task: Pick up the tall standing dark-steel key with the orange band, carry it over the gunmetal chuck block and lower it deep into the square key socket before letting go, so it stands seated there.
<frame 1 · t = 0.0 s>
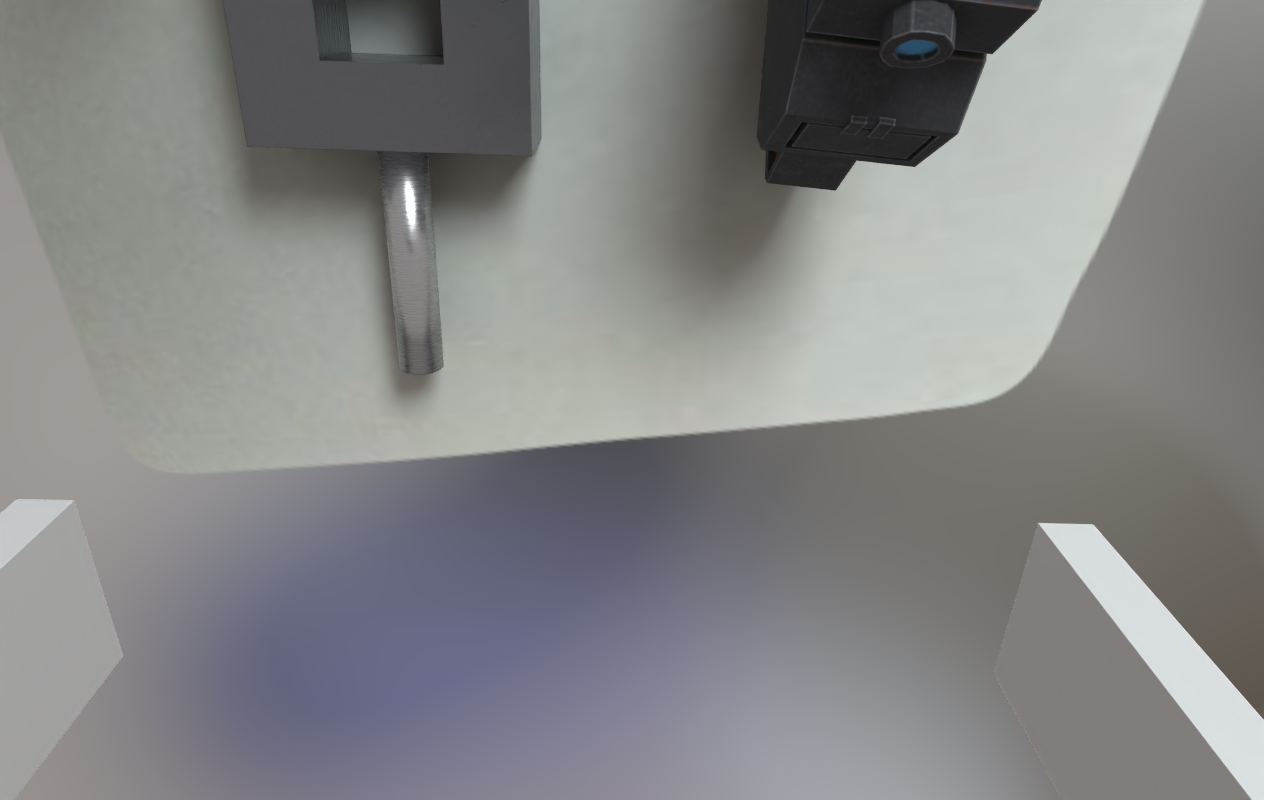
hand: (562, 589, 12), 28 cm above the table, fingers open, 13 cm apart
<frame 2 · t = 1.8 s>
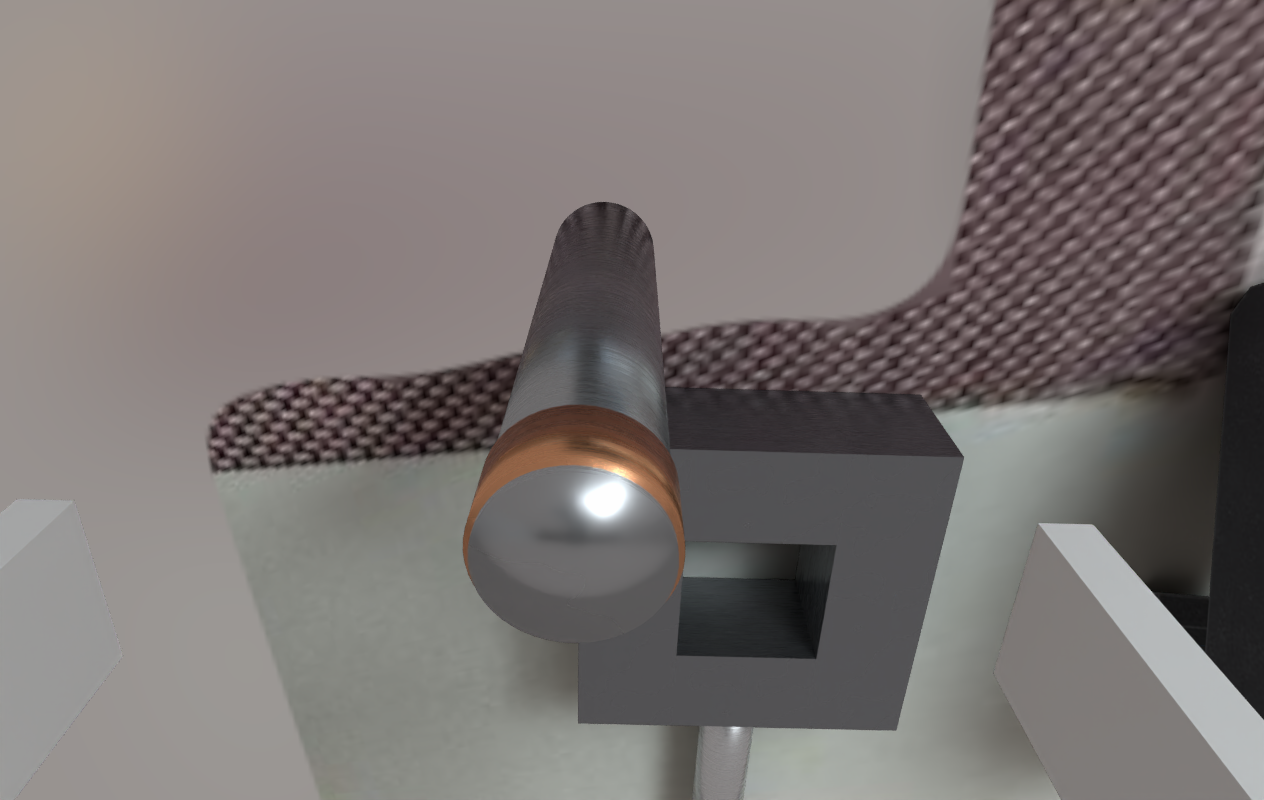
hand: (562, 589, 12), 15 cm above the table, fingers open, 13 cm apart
key: (604, 251, 25), on the table
chuck: (738, 527, 30), on the table
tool: (1244, 440, 28), on the table
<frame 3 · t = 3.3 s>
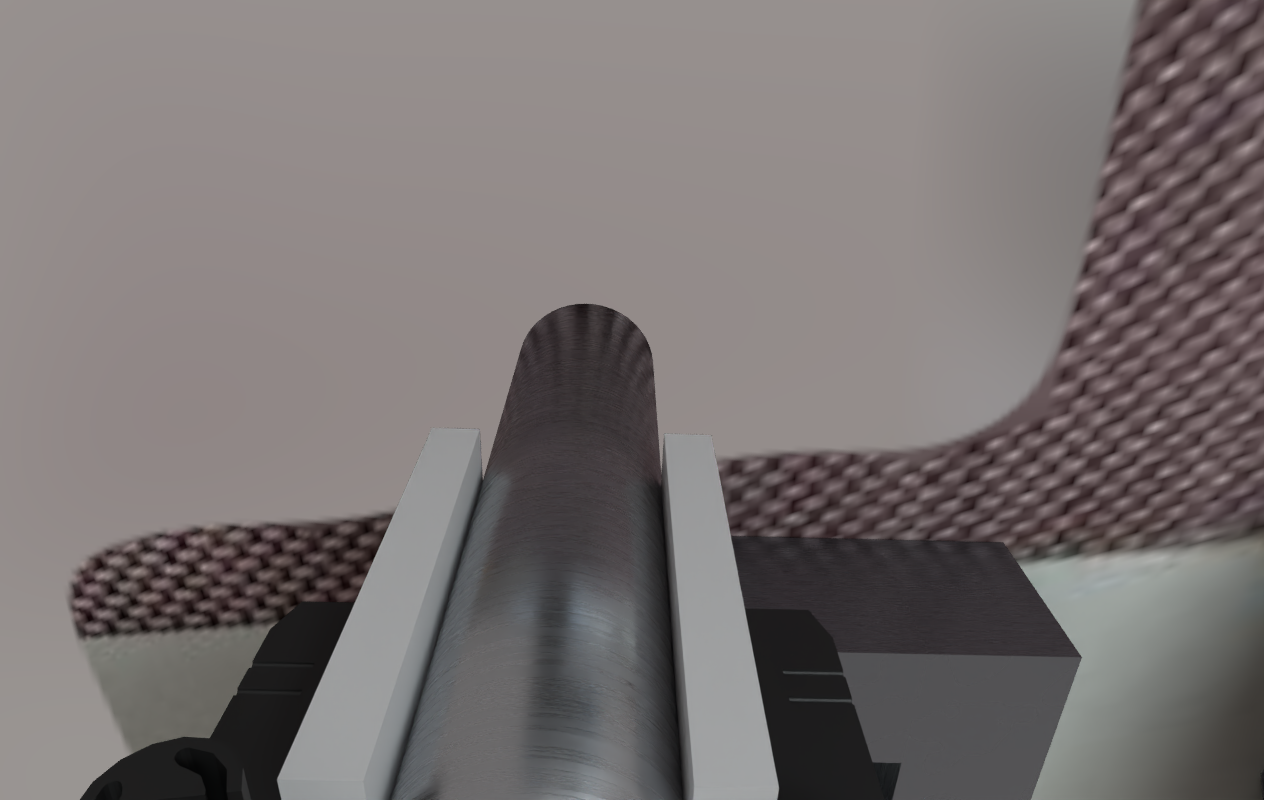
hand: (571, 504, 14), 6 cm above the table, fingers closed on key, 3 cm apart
key: (586, 367, 19), on the table, touching gripper
chuck: (762, 699, 23), on the table
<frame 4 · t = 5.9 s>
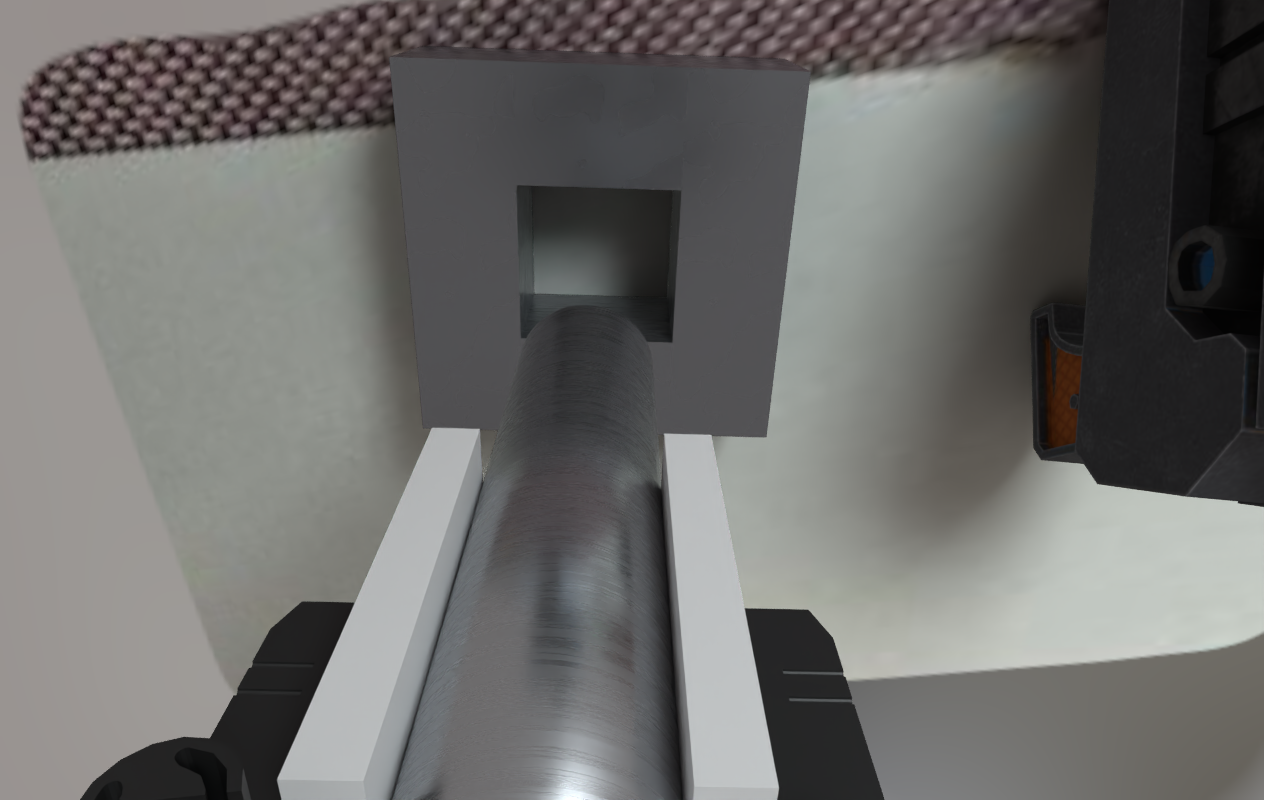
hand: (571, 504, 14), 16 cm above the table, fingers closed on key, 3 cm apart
key: (586, 368, 19), point 10 cm above the table, touching gripper
chuck: (601, 230, 28), on the table
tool: (1137, 121, 27), on the table
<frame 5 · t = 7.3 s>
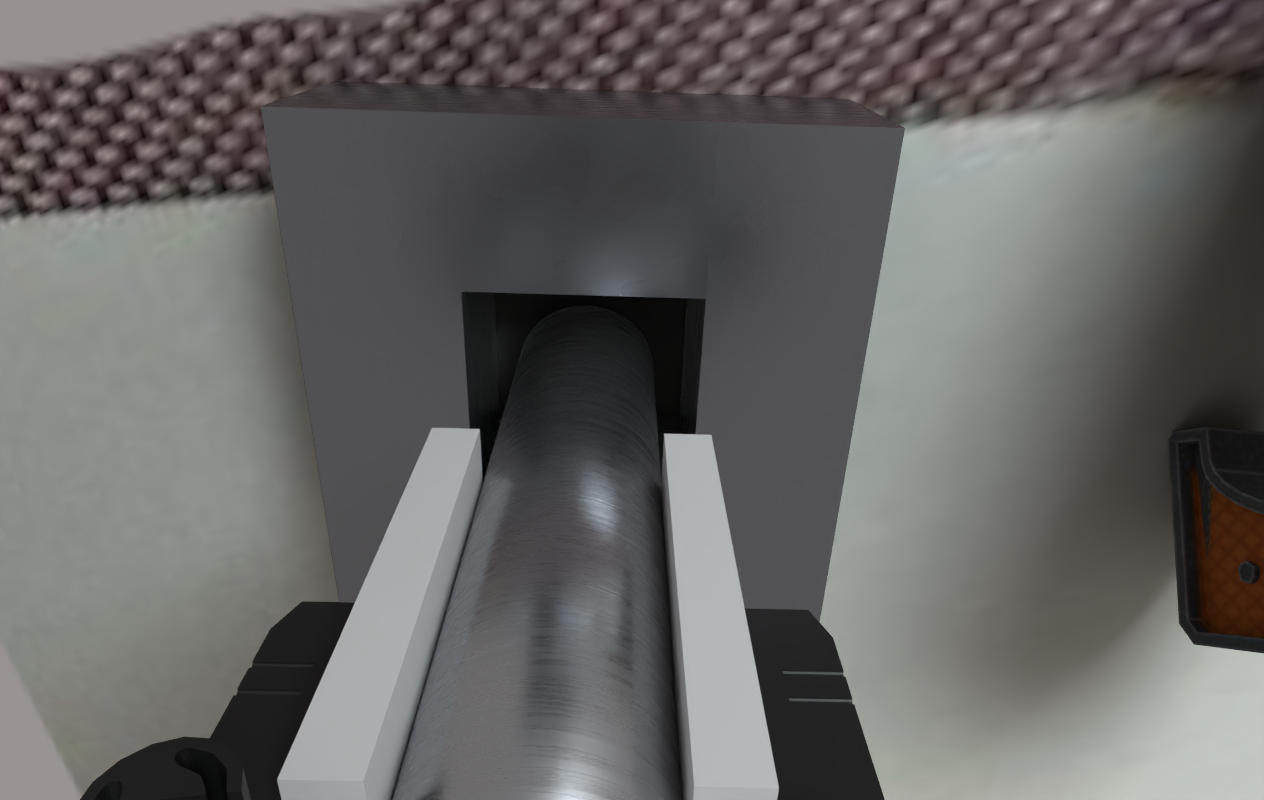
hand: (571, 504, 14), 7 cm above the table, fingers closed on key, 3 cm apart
key: (586, 368, 19), point 2 cm above the table, touching gripper
chuck: (590, 329, 20), on the table
when the fingers open (6 cm above the table, at t = 8.4 s): key stays where it is, resting in chuck.
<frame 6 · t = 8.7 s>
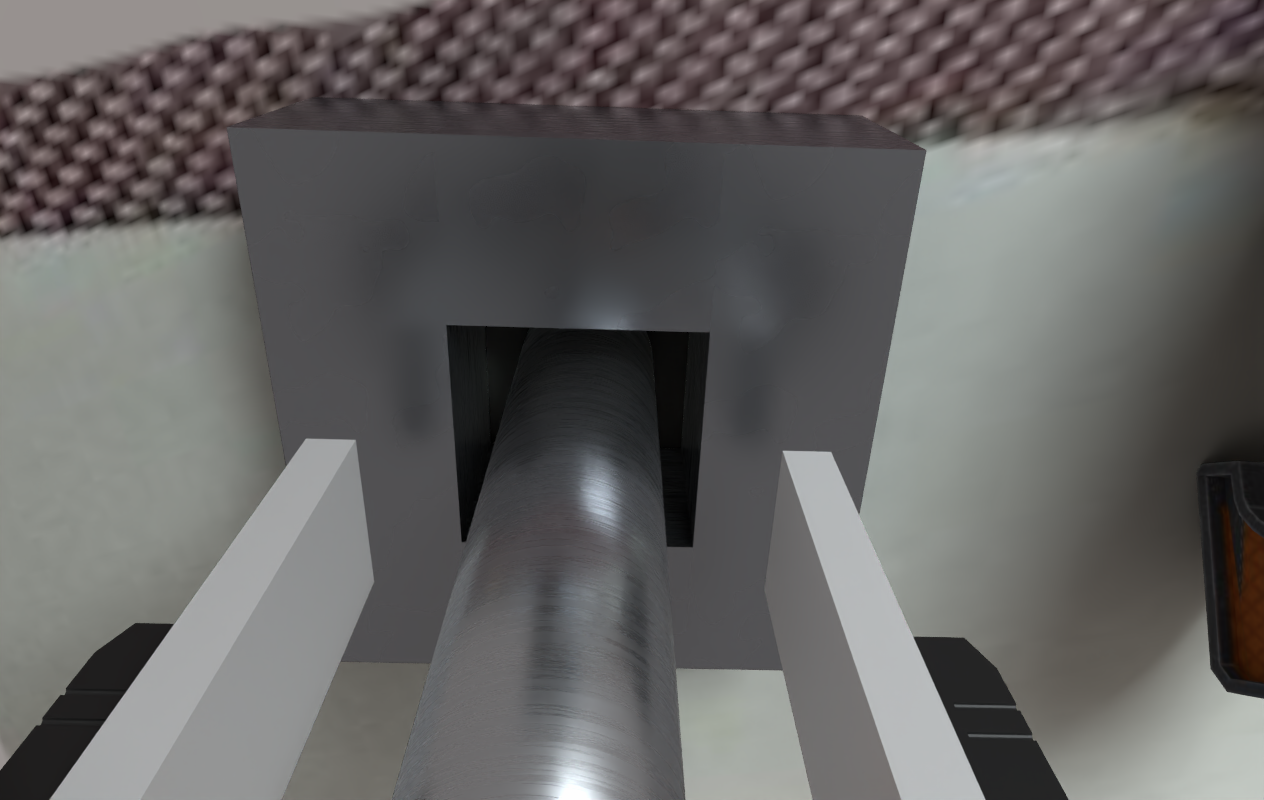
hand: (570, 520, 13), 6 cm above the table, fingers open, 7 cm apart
key: (587, 358, 19), resting in chuck
chuck: (586, 358, 19), on the table
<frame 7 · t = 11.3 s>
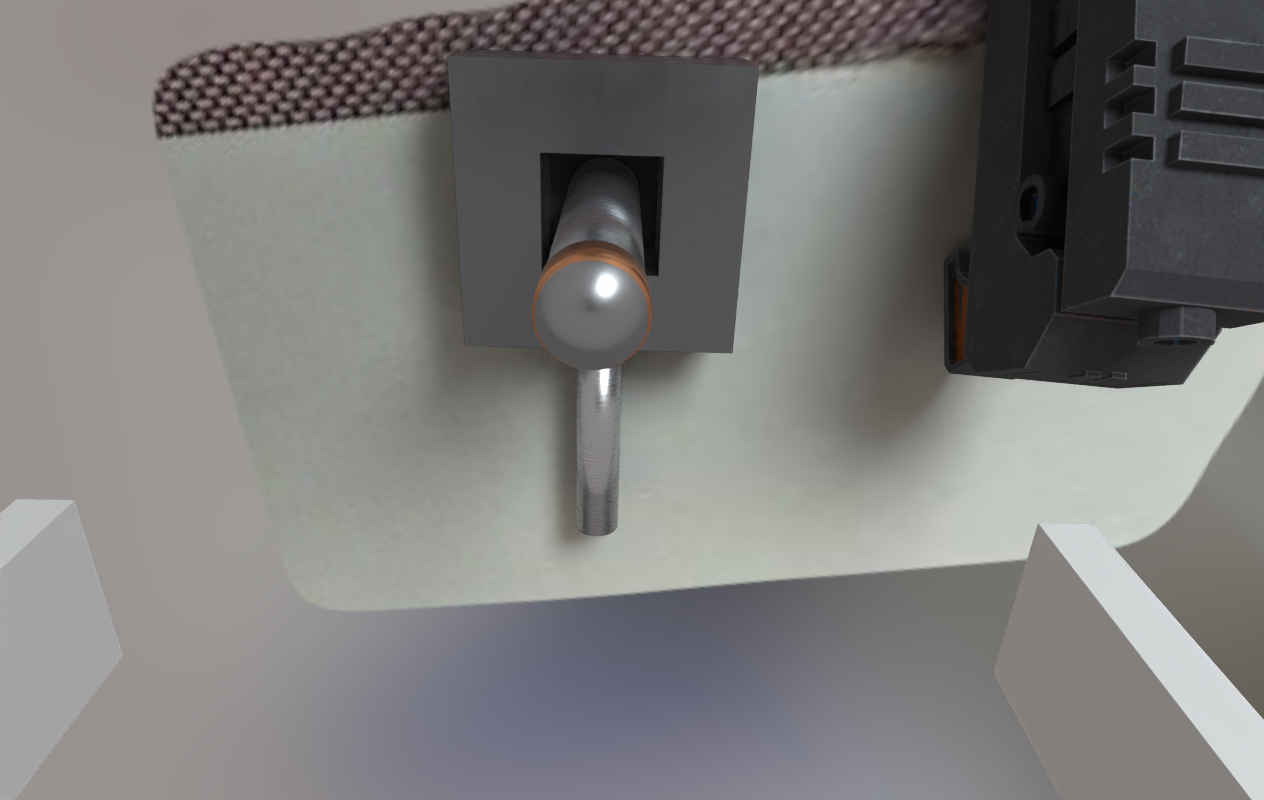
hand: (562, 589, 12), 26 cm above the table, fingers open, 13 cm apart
key: (603, 193, 35), resting in chuck
chuck: (603, 193, 35), on the table
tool: (1018, 107, 34), on the table
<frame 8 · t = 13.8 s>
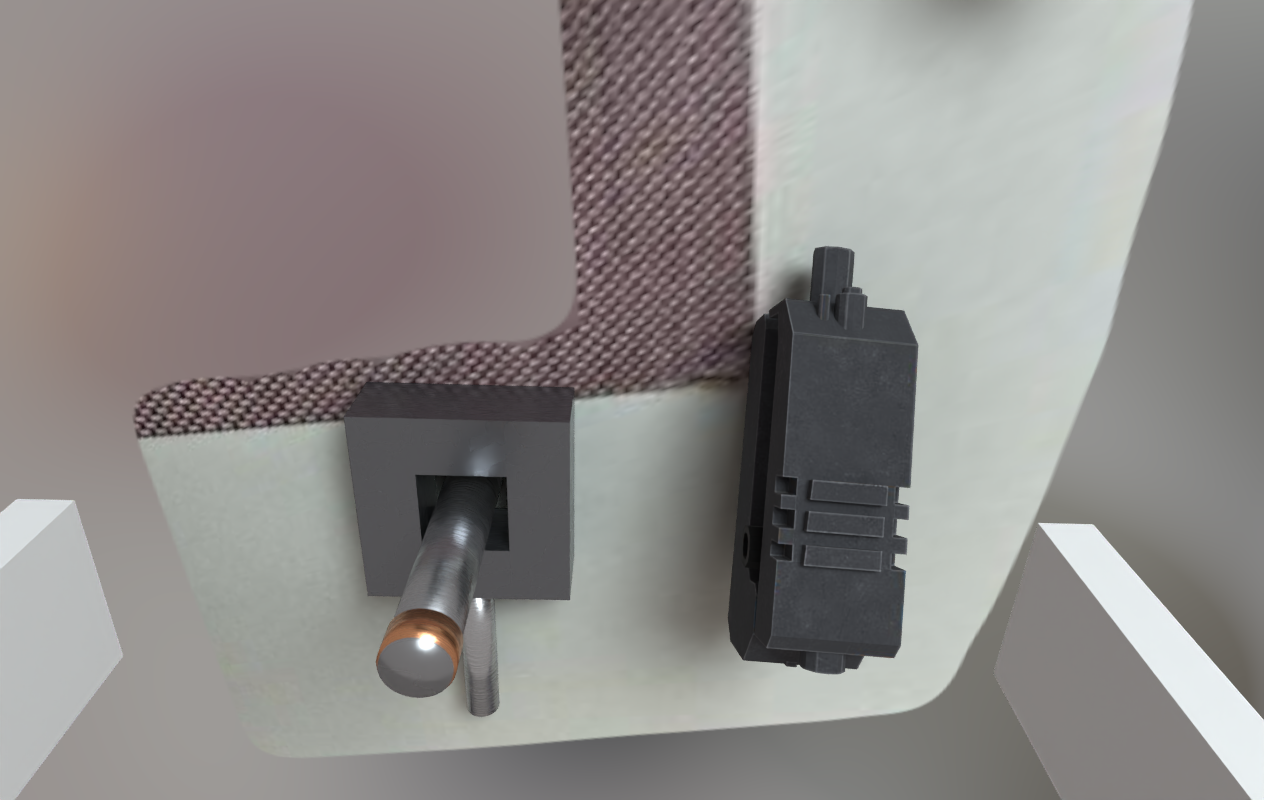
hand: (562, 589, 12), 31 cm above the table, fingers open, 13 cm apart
key: (476, 473, 47), resting in chuck
chuck: (476, 473, 47), on the table
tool: (785, 415, 45), on the table
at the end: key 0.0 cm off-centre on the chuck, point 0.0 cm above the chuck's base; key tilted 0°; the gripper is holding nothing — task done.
